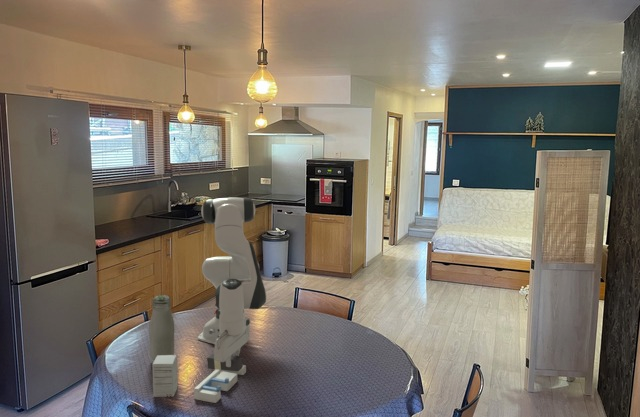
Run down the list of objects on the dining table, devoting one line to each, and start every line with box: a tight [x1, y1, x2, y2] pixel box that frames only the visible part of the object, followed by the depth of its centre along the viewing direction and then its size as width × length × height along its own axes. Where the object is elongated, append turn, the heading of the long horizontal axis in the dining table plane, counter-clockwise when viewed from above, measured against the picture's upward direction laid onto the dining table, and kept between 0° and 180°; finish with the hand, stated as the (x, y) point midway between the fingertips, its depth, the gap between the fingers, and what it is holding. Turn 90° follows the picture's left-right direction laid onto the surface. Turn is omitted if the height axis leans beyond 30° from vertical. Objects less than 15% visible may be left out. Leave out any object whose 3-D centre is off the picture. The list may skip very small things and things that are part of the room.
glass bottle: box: [148, 294, 175, 362], centre depth 198 cm, size 10×10×28 cm
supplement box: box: [151, 354, 179, 398], centre depth 174 cm, size 7×7×13 cm
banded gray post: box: [206, 353, 244, 371], centre depth 172 cm, size 12×4×4 cm, turn 72°
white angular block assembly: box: [193, 364, 247, 404], centre depth 180 cm, size 8×24×5 cm, turn 163°
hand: (232, 363), depth 171 cm, fingers closed on banded gray post, 3 cm apart
